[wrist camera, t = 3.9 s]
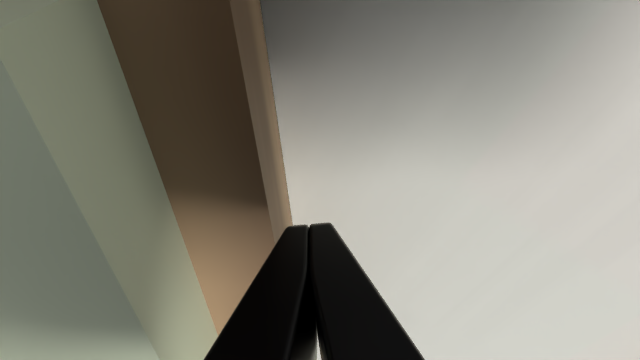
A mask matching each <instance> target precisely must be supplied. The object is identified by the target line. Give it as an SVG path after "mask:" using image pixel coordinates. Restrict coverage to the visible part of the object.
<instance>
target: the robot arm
mask: <svg viewBox="0 0 640 360" xmlns="http://www.w3.org/2000/svg"><path fill="white" fill-rule="evenodd" d="M317 333H318V340H319V347H320V354H321V359H322V360H425V359H424V358H423V356H422V355H421V353H420V352H419V350H418V349H417V347H416V346H415V345H414V343H413V342H412V340H411V339H410V337H409V336H408V334H407V333H406V331H405V330H404V328H403V327H402V326H401V324H400V323H399V321H398V320H397V318H396V317H395V315H394V314H393V312H392V311H391V310H390V308H389V307H388V305H387V304H386V302H385V301H384V299H383V298H382V296H381V295H380V293H379V292H378V291H377V289H376V288H375V286H374V285H373V283H372V282H371V280H370V279H369V277H368V276H367V275H366V273H365V272H364V270H363V269H362V267H361V266H360V264H359V263H358V261H357V260H356V258H355V257H354V256H353V254H352V253H351V251H350V250H349V248H348V247H347V245H346V244H345V242H344V241H343V240H342V238H341V237H340V235H339V234H338V232H337V231H336V229H335V228H334V226H333V225H332V224H331V223H318V224H311V225H310V227H308V225H294V226H288V227H287V228H286V229H285V230H284V232H283V233H282V235H281V237H280V238H279V240H278V241H277V243H276V245H275V246H274V248H273V249H272V251H271V253H270V254H269V256H268V257H267V259H266V261H265V262H264V264H263V265H262V267H261V269H260V270H259V272H258V273H257V275H256V277H255V278H254V280H253V281H252V283H251V285H250V286H249V288H248V289H247V291H246V293H245V294H244V296H243V297H242V299H241V301H240V302H239V304H238V305H237V307H236V309H235V310H234V312H233V313H232V315H231V317H230V318H229V320H228V321H227V323H226V325H225V326H224V328H223V329H222V331H221V332H220V334H219V336H218V337H217V339H216V340H215V342H214V344H213V345H212V347H211V348H210V350H209V352H208V353H207V355H206V356H205V358H204V360H316V359H317Z"/></svg>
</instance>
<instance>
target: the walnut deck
mask: <svg viewBox="0 0 640 360" xmlns="http://www.w3.org/2000/svg"><path fill="white" fill-rule="evenodd" d="M97 2H98V5H99V8H100V10H101V13H102V16H103V19H104V21H105V24H106V27H107V30H108V33H109V35H110V38H111V41H112V44H113V46H114V49H115V52H116V55H117V57H118V60H119V63H120V66H121V69H122V71H123V74H124V77H125V80H126V82H127V85H128V88H129V91H130V93H131V96H132V99H133V102H134V104H135V107H136V110H137V113H138V116H139V118H140V121H141V124H142V127H143V129H144V132H145V135H146V138H147V140H148V143H149V146H150V149H151V152H152V154H153V157H154V160H155V163H156V165H157V168H158V171H159V174H160V176H161V179H162V182H163V185H164V187H165V190H166V193H167V196H168V199H169V201H170V204H171V207H172V210H173V212H174V215H175V218H176V221H177V223H178V226H179V229H180V232H181V235H182V237H183V240H184V243H185V246H186V248H187V251H188V254H189V257H190V259H191V262H192V265H193V268H194V271H195V273H196V276H197V279H198V282H199V284H200V287H201V290H202V293H203V295H204V298H205V301H206V304H207V306H208V309H209V312H210V315H211V318H212V320H213V323H214V326H215V329H216V331H217V334H218V336H219V334H220V332H221V331H222V329H223V328H224V326H225V325H226V323H227V321H228V320H229V318H230V317H231V315H232V313H233V312H234V310H235V309H236V307H237V305H238V304H239V302H240V301H241V299H242V297H243V296H244V294H245V293H246V291H247V289H248V288H249V286H250V285H251V283H252V281H253V280H254V278H255V277H256V275H257V273H258V272H259V270H260V269H261V267H262V265H263V264H264V262H265V261H266V259H267V257H268V256H269V254H270V253H271V251H272V249H273V248H274V246H275V245H276V243H277V241H278V240H279V238H280V237H281V235H282V233H283V232H284V230H285V229H286V228H287V227H288V226H293V224H292V217H291V211H290V204H289V197H288V190H287V183H286V176H285V170H284V163H283V156H282V149H281V142H280V135H279V129H278V122H277V115H276V108H275V101H274V94H273V88H272V81H271V74H270V67H269V60H268V53H267V46H266V40H265V33H264V26H263V19H262V12H261V5H260V0H97Z"/></svg>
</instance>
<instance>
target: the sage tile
mask: <svg viewBox="0 0 640 360" xmlns="http://www.w3.org/2000/svg"><path fill="white" fill-rule="evenodd" d="M217 337H218V334H217V331H216V329H215V326H214V323H213V320H212V318H211V315H210V312H209V309H208V306H207V304H206V301H205V298H204V295H203V293H202V290H201V287H200V284H199V282H198V279H197V276H196V273H195V271H194V268H193V265H192V262H191V259H190V257H189V254H188V251H187V248H186V246H185V243H184V240H183V237H182V235H181V232H180V229H179V226H178V223H177V221H176V218H175V215H174V212H173V210H172V207H171V204H170V201H169V199H168V196H167V193H166V190H165V187H164V185H163V182H162V179H161V176H160V174H159V171H158V168H157V165H156V163H155V160H154V157H153V154H152V152H151V149H150V146H149V143H148V140H147V138H146V135H145V132H144V129H143V127H142V124H141V121H140V118H139V116H138V113H137V110H136V107H135V104H134V102H133V99H132V96H131V93H130V91H129V88H128V85H127V82H126V80H125V77H124V74H123V71H122V69H121V66H120V63H119V60H118V57H117V55H116V52H115V49H114V46H113V44H112V41H111V38H110V35H109V33H108V30H107V27H106V24H105V21H104V19H103V16H102V13H101V10H100V8H99V5H98V2H97V0H0V360H204V358H205V356H206V355H207V353H208V352H209V350H210V348H211V347H212V345H213V344H214V342H215V340H216V339H217Z"/></svg>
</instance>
